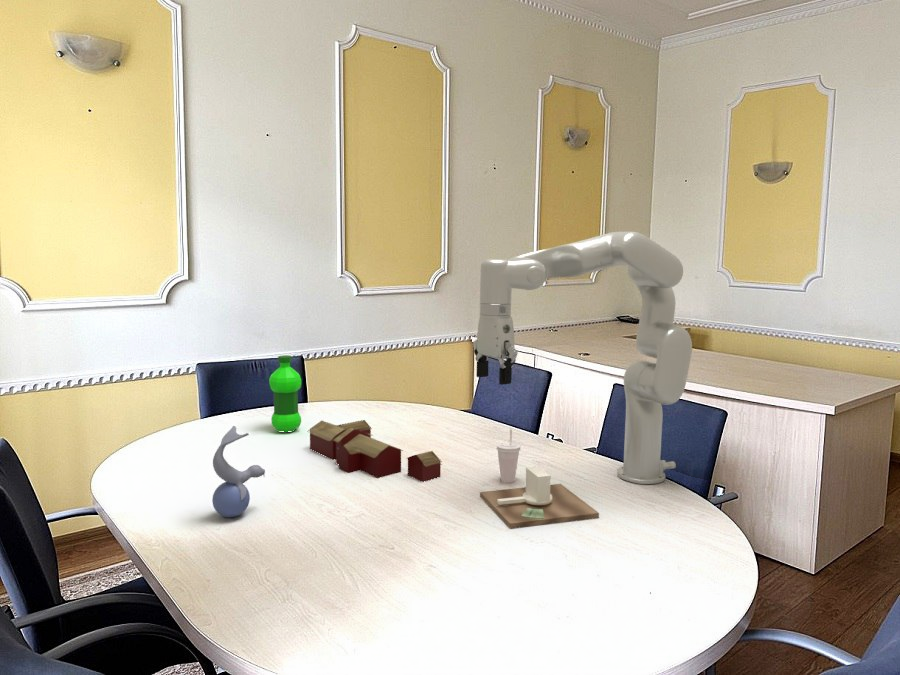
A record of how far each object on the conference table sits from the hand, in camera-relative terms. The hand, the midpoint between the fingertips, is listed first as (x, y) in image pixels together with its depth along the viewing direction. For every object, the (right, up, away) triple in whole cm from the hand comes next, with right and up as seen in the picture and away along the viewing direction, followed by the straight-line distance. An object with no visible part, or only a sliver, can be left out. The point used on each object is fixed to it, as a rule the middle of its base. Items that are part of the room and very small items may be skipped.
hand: (493, 380), depth 170 cm
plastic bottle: (-65, -21, +60) cm, 91 cm away
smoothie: (+5, -28, +15) cm, 32 cm away
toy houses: (-33, -26, +29) cm, 51 cm away
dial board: (+10, -30, -3) cm, 32 cm away
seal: (-59, -31, -9) cm, 67 cm away
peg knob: (+7, -29, -4) cm, 30 cm away
